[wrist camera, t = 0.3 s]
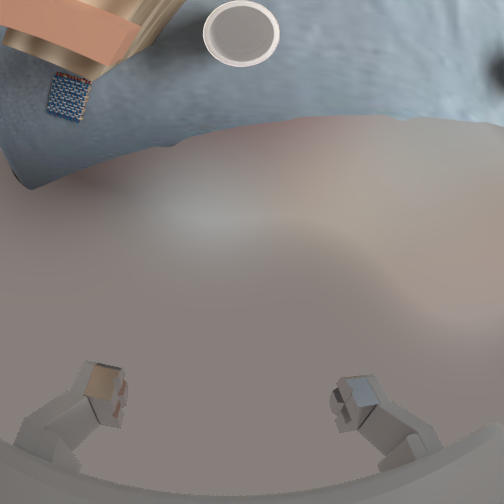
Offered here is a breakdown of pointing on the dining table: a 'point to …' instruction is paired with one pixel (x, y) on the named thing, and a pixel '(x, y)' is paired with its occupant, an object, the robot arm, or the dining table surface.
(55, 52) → the stand
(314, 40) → the dining table surface
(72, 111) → the woven mat
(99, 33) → the rod
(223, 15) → the jar
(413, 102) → the dining table surface
